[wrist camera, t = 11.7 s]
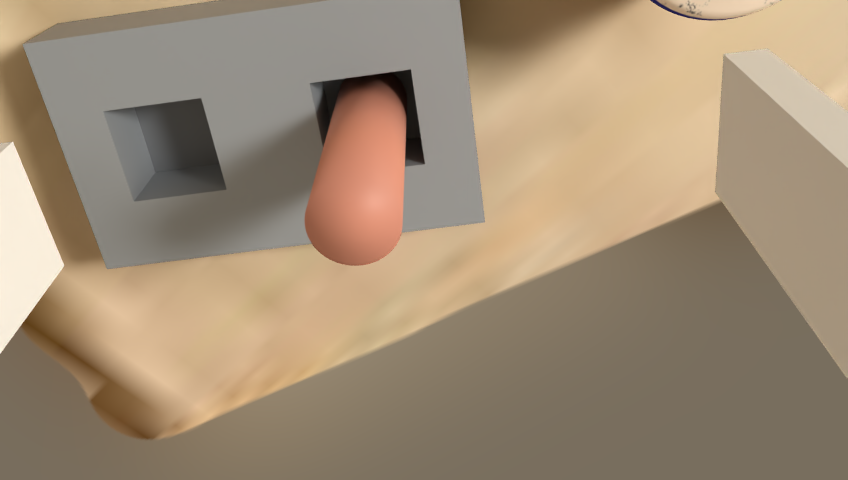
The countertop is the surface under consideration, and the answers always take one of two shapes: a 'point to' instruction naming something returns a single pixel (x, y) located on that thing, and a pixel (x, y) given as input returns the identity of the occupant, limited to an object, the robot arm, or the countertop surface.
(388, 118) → the dowel
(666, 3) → the teacup with lid
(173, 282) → the countertop surface
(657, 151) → the countertop surface
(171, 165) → the bore block
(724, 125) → the robot arm
